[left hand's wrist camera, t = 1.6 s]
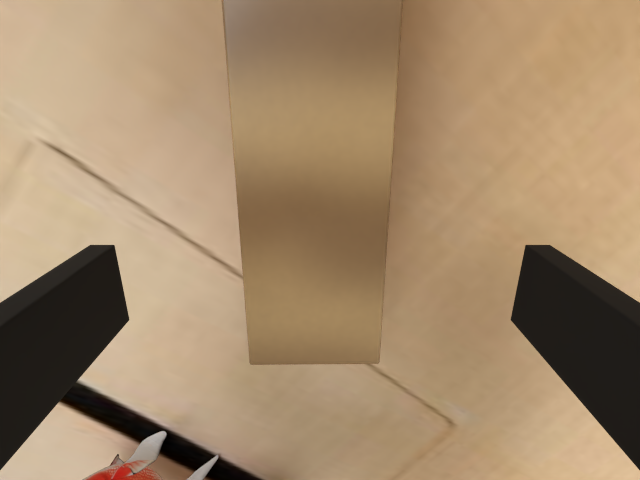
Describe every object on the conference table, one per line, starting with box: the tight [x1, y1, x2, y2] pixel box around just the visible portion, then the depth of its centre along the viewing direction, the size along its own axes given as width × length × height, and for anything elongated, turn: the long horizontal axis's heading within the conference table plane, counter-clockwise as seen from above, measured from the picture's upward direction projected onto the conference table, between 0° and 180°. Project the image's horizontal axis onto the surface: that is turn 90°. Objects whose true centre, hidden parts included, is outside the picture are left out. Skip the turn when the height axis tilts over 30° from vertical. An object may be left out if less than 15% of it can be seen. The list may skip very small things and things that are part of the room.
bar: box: [222, 0, 403, 365], centre depth 15 cm, size 21×5×9 cm, turn 0°
